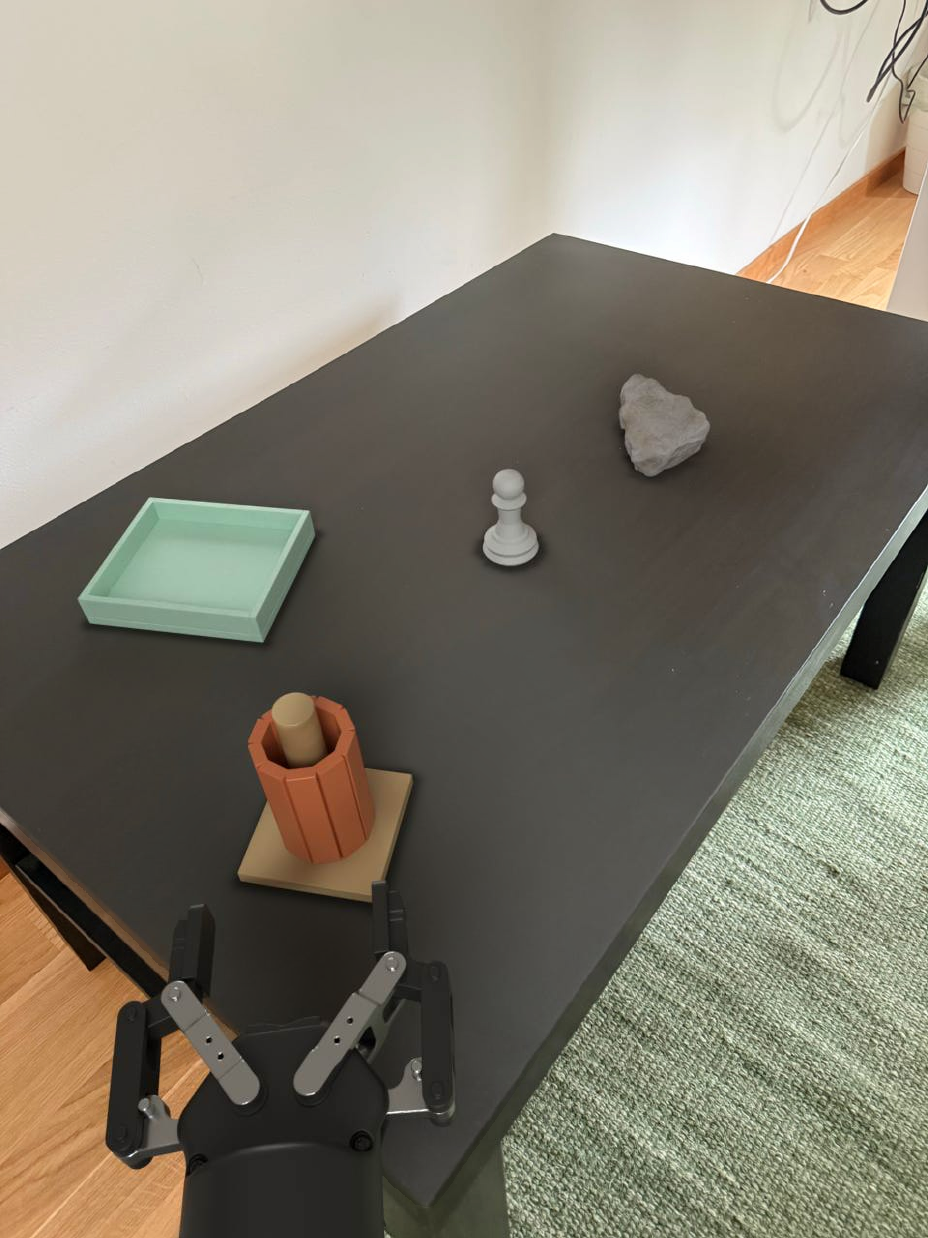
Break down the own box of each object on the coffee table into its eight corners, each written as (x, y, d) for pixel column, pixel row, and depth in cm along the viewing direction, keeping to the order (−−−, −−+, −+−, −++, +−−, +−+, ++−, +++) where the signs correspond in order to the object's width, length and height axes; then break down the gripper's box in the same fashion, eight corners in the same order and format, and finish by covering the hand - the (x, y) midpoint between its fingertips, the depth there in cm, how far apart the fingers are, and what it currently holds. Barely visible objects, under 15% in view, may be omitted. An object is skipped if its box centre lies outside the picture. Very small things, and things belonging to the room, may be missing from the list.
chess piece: (502, 575, 77) (498, 498, 71) (472, 544, 80) (467, 468, 74) (549, 553, 78) (549, 476, 73) (518, 524, 81) (516, 448, 75)
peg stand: (240, 881, 58) (185, 763, 49) (288, 765, 64) (246, 642, 56) (377, 904, 57) (346, 786, 48) (413, 782, 63) (391, 658, 54)
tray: (89, 623, 76) (77, 599, 74) (158, 521, 85) (148, 497, 83) (263, 643, 73) (255, 618, 71) (315, 535, 82) (310, 510, 80)
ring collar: (267, 857, 58) (232, 773, 52) (299, 776, 62) (270, 689, 56) (358, 871, 57) (334, 787, 51) (384, 788, 61) (365, 701, 55)
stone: (585, 436, 90) (587, 383, 86) (655, 412, 92) (660, 359, 88) (643, 489, 83) (648, 435, 79) (716, 462, 86) (725, 407, 82)
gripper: (474, 1267, 30) (432, 837, 42) (35, 1331, 30) (115, 880, 41) (486, 1309, 36) (446, 917, 47) (114, 1364, 35) (165, 956, 47)
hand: (291, 900), depth 44 cm, fingers open, 8 cm apart
